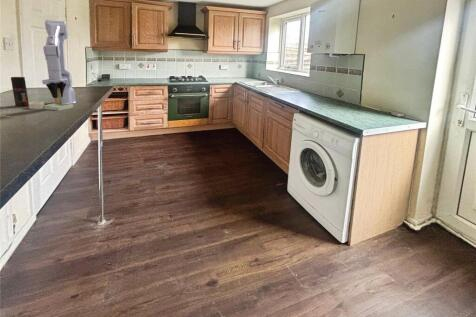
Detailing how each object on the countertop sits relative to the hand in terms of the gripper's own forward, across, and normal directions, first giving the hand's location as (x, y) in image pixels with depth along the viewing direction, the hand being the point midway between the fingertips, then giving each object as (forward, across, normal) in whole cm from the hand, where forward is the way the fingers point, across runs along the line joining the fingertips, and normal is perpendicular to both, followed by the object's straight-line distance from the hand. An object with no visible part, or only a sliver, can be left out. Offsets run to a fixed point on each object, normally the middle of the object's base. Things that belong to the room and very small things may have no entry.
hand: (57, 97), depth 167 cm
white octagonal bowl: (+6, -5, +9) cm, 12 cm away
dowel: (+3, 0, 0) cm, 3 cm away
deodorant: (+6, -4, +20) cm, 21 cm away
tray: (+6, 0, 0) cm, 6 cm away
